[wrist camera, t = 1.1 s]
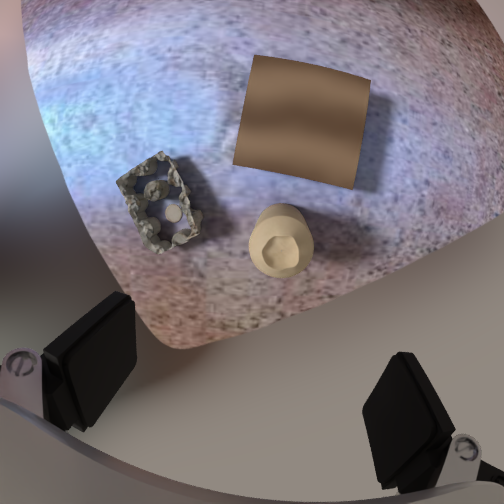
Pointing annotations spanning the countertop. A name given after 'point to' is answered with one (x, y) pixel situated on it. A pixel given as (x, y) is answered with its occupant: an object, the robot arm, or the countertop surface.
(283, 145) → the plinth
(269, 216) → the candle
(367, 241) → the countertop surface
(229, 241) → the countertop surface
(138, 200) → the egg carton
